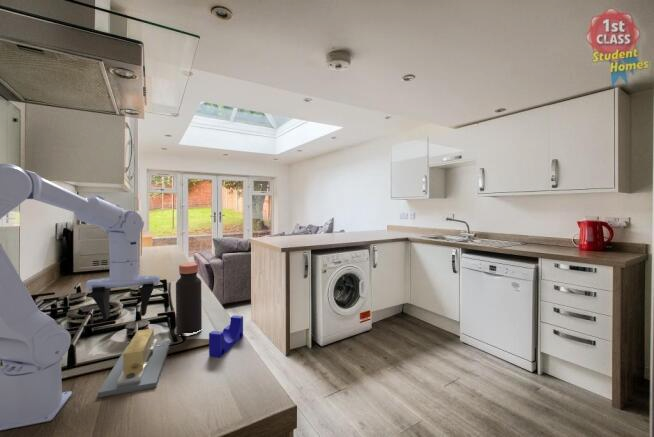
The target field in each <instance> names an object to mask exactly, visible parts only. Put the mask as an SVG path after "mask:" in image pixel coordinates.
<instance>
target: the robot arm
mask: <svg viewBox="0 0 654 437" xmlns="http://www.w3.org/2000/svg"><path fill="white" fill-rule="evenodd" d="M26 200H34V201H38V202H41V203H44V204H46V205H50V206H54V207H57V208H60V209H63V210H66V211H69V212H73V214H74V216H75V218H76V220H77V221H79V222H82V223H86V224H89V225H91V226H94V227H97V228H101V229H102V231H103V232H104V233H106V234H108V251H109V252H108V253H109V255H108V256H109V259H108V260H109V261H108V262H109V277H106V278H97V279H89V280H87V281H86V283H85V287H86V288H85V290H86V291H91V292H90V297H91V298H92V299H93V300H94V302H95V304H96V305H97V307H98V309H99V311H100V313H101V316H102V320H103V321H105V320H106V321H107V320H108V319H109V318H110V316H111V315H110V314H111V312H110V311H111V310H110V292H111V289H113V288H125V287H139V286H141V287H140V288H139V294H140V303H141V305H140V316H141V317H144V316H146V314H147V309H148V305H149V302H150V298H151V295H152V294H153V291H154V289H155V287H156V286H159V285H160V282H161V281H160V280H161V277H160V275H139V274H140V272H139V270H140V269H139V241H140V239H141V232H142V230H143V229H144V226H145V221H143V218H142V216H141V215H140V214H139V213H138V212H137V211H135V210H130V209H129V210H125V209H124V208H123V206H122V205H120V204H113V203H111V202H109V201H106V200H105V197H104V196H102V195H99V194H98V195H87V196H84V197H83V196H81V195H79V194H77V193H74V192H73V191H70V190H68V189H66V188H65V187H62V186H60V185H58V184H56V183H54V182H51V181H50V180H47V179H45V178H43V177H41V176H40V175H39V174H38V173H36V172H34V171H30V170H27V169H23V168H21V167H19V166H17V165H15V164H10V163H0V220H1V219H2V218H3V217H5V216H7V215H8V214H9V213H10V212H11V211H13V210H15V209H16V208H17V207H18V206H19V205H21V204H22V203H23V202H25V201H26ZM71 342H72V335H71V334H70V332H69V331H68V330H67V329H66V328H63V327H61V326H59V324H58V323H57V322H56V320H55V319H54V318H52V316H49V315H48V314H46V313H45V312H43V311H42V310H40V309H39V307H38V306H37V304H36V302H35V300H34V299H33V297H32V295H31V294H30V292H29V290H28V289H27V286H26V285H25V283H24V281H23V280H22V278H21V276H20V274H19V273H18V271H17V269H16V268H15V265H14V264H13V263H12V261H11V258H10V257H9V255H8V254H7V252H6V250H5V249H4V247H3V245H2V243H1V242H0V361H2V366H1V367H0V431H4V430H10V429H14V428H20V427H25V426H30V425H37V424H41V423H46V422H50V421H52V420H53V419H54V418H55V417H56V415H57V414H58V413H59V411H60V410H62V409H61V408H62V407H63V406H64V405H65V404H66V402H67V401H68V400H69V398H70V397H71V396H72V395H73V391H70V390H69V391H63V387H62V384H63V383H62V361H63V360H64V356H65V355H66V354H67V352H68V351H69V349H70V346H71Z"/></svg>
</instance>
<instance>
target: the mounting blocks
mask: <svg viewBox="0 0 654 437" xmlns="http://www.w3.org/2000/svg"><path fill="white" fill-rule="evenodd" d="M157 342H158V338H154V345H153V347H152V350H151V352H150V354H149V355H151V354H153V352H154V350H155V348H156V345H157ZM146 369H147V362H146V363H145V366H144V368H143V370H137V371H130V372H124V373H123V372H122V373H121V375H120V377H119V379H118V381H117V383H118V386H123V385H129V384H135V383H141V381H142V378H143V376H144V374H145V371H146Z"/></svg>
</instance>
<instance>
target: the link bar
mask: <svg viewBox="0 0 654 437" xmlns="http://www.w3.org/2000/svg"><path fill="white" fill-rule="evenodd" d="M154 329H155V328H148V329H140V330H137V331H136V332H135V334H134V336H133V337H132V339H131V341H130V342H129V344H128V347H127V346H126V347H127V348H126V347H125V348H126V350H125V349H124V350H125V352H124V351H123V352H124V353H123V352H122V353H123V373H124V372H130V371H137V370H143V368H144V366H145V363H146V361H147V359H148V356H149V354H150V352H151V350H152V347H153V345H154V339H155V336H154V334H155V330H154Z"/></svg>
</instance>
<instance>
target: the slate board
mask: <svg viewBox="0 0 654 437" xmlns="http://www.w3.org/2000/svg"><path fill="white" fill-rule="evenodd" d="M170 342H171V343H172V340H171V339H168V340H157V345H164V346H161V347H156V348H155V350H154V352H153V354H151V355H149V356H148V359H147V361H146V362H147V369H146V371H145V374H144V376H143V378H142V381H141V383H135V384H129V385H123V386H118V383H117V381H118V379H119V377H120V375H121V373H122V372H123V353H124V352H125V350H126V348H127V347H128V345H129V344H128V345H127V346H126V347H125V349H124V350H123V352H122V354H121V355H120V356H119V358H118V360H116V363H115V364H114V365H113V368H112V369H111V371H110V372H109V373H108V376H107V377H106V379H105V381H103V383H102V384H101V387H100V388H99V390H98V391H97V398H102V397H108V396H109V397H110V396H114V395H119V394H125V393H131V392H138V391H143V390H148V389H154V388H157V386H158V383H159V380H160V377H161V375H162V371H163V369H164V365H165V362H166V359H167V356H168V354H167V353H169V351H168V348H169V344H170ZM157 345H156V346H157ZM169 349H170V348H169Z"/></svg>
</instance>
